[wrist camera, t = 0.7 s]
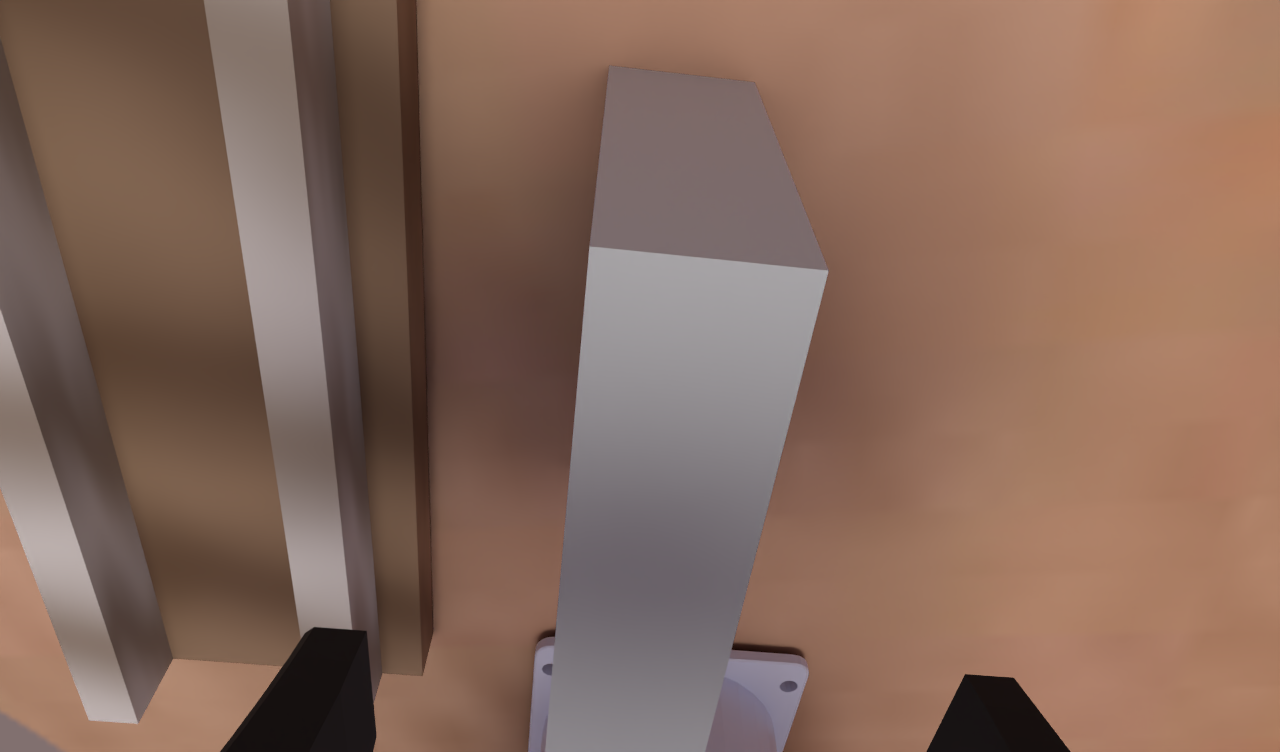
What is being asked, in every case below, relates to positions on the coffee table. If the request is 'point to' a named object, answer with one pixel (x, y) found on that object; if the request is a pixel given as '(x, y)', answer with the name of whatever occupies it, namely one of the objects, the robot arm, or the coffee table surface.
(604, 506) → the door panel
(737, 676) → the robot arm
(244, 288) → the track base
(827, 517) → the coffee table surface
